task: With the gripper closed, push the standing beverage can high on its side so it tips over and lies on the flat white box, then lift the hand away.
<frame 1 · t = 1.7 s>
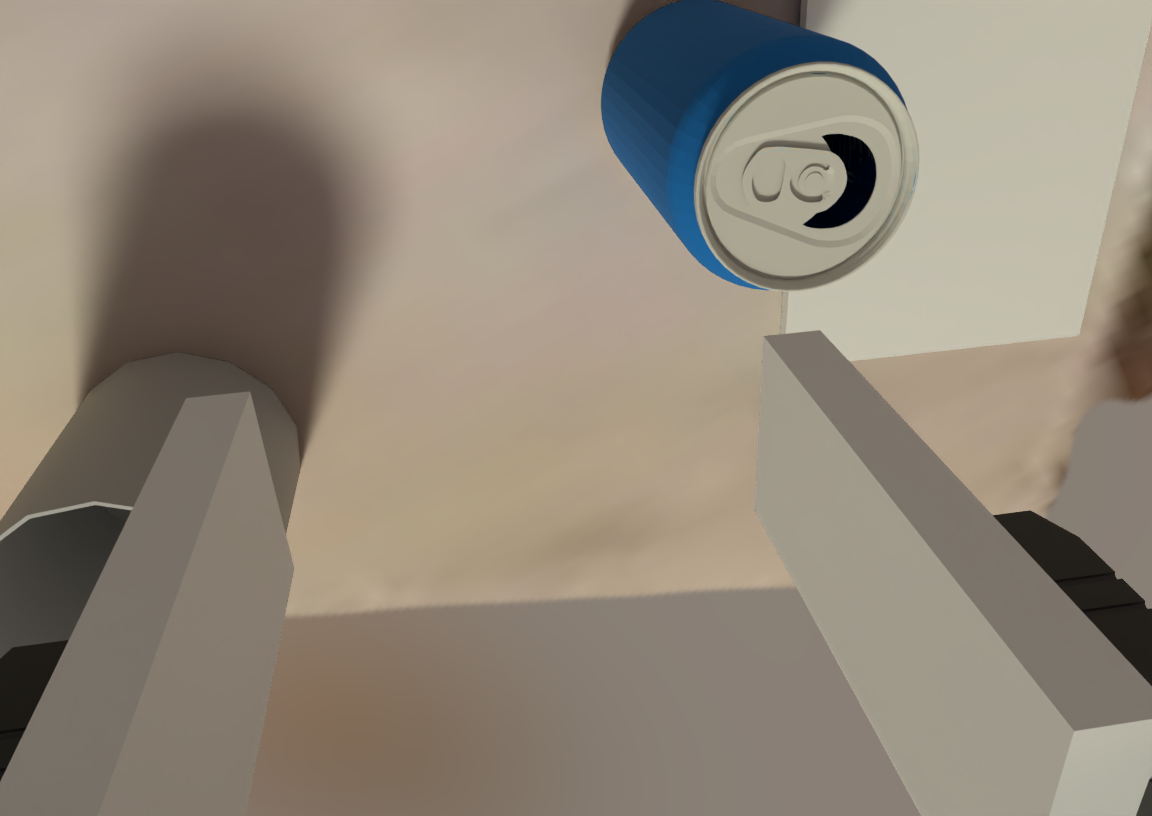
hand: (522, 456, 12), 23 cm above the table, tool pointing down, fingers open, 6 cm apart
beverage can: (685, 94, 33), on the table
cup: (192, 446, 37), on the table
flat white box: (966, 73, 34), on the table
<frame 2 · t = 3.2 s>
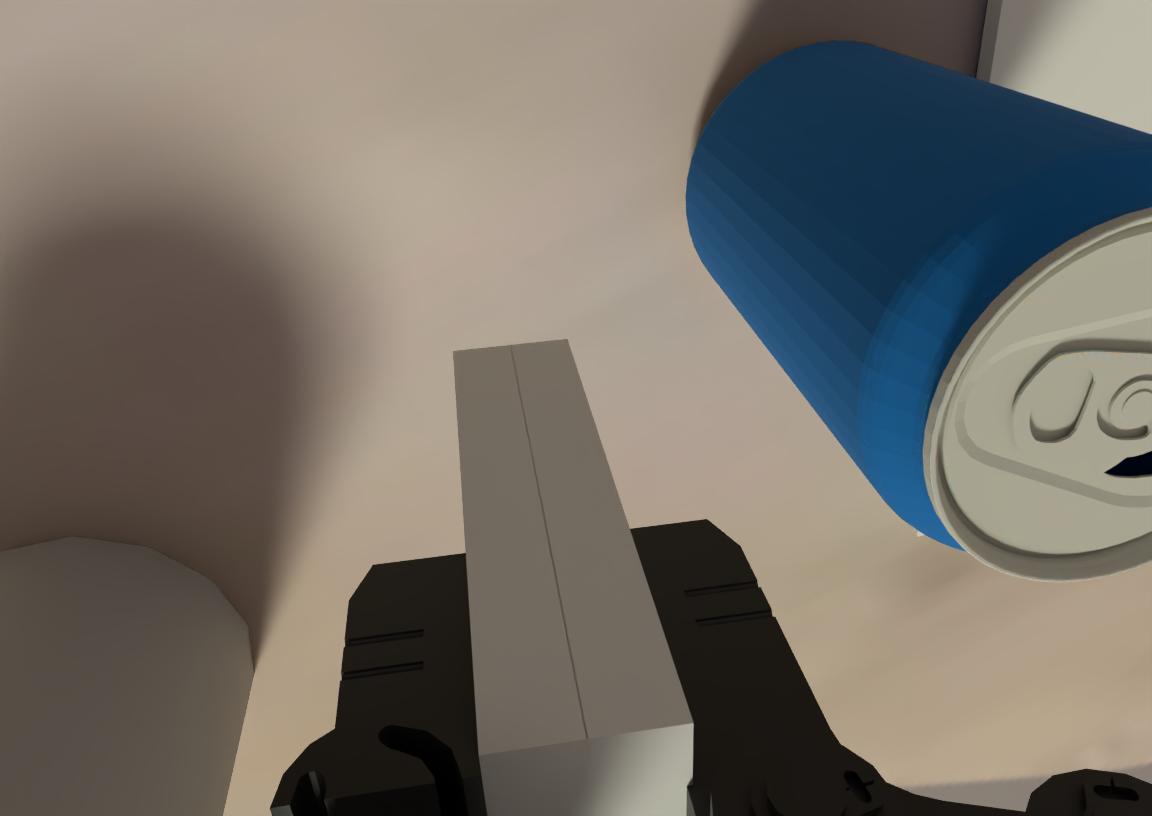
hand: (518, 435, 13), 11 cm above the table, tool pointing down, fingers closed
beverage can: (804, 175, 23), on the table
cup: (102, 651, 27), on the table
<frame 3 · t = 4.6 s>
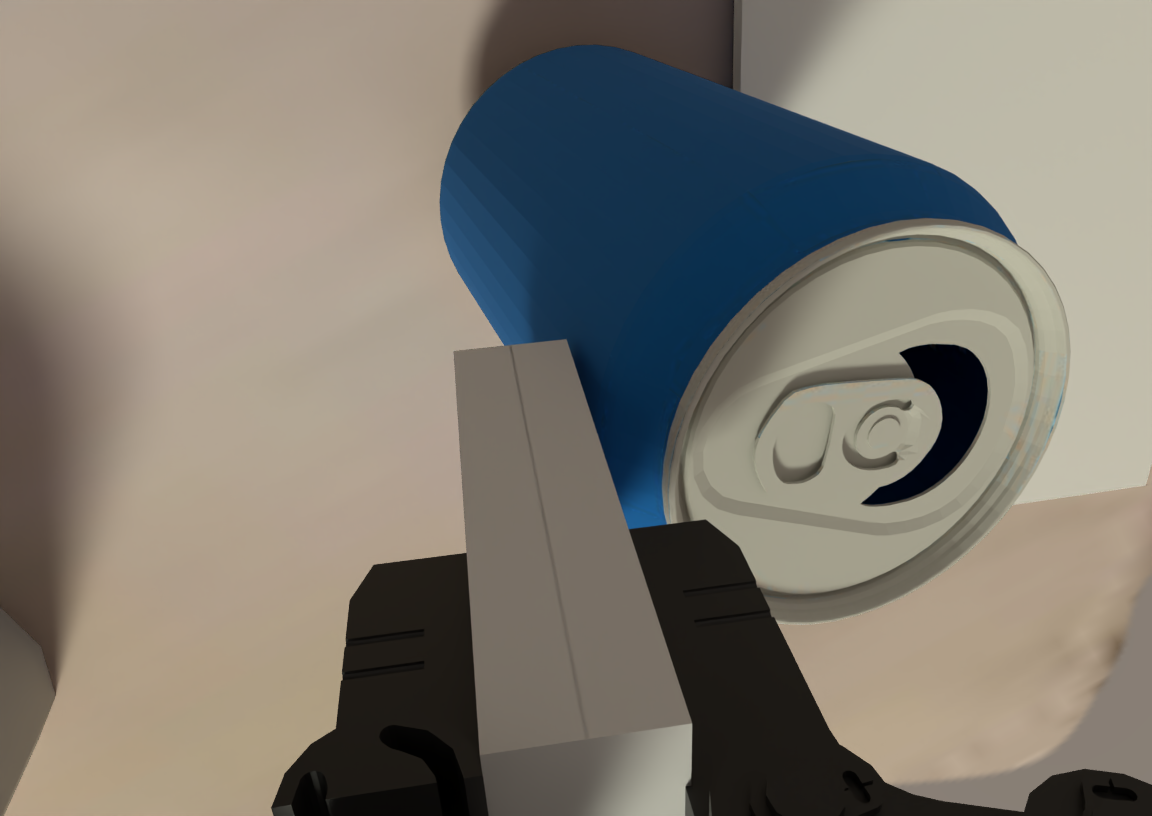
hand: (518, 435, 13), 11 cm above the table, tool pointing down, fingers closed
beverage can: (569, 187, 21), on the table
flat white box: (988, 138, 23), on the table
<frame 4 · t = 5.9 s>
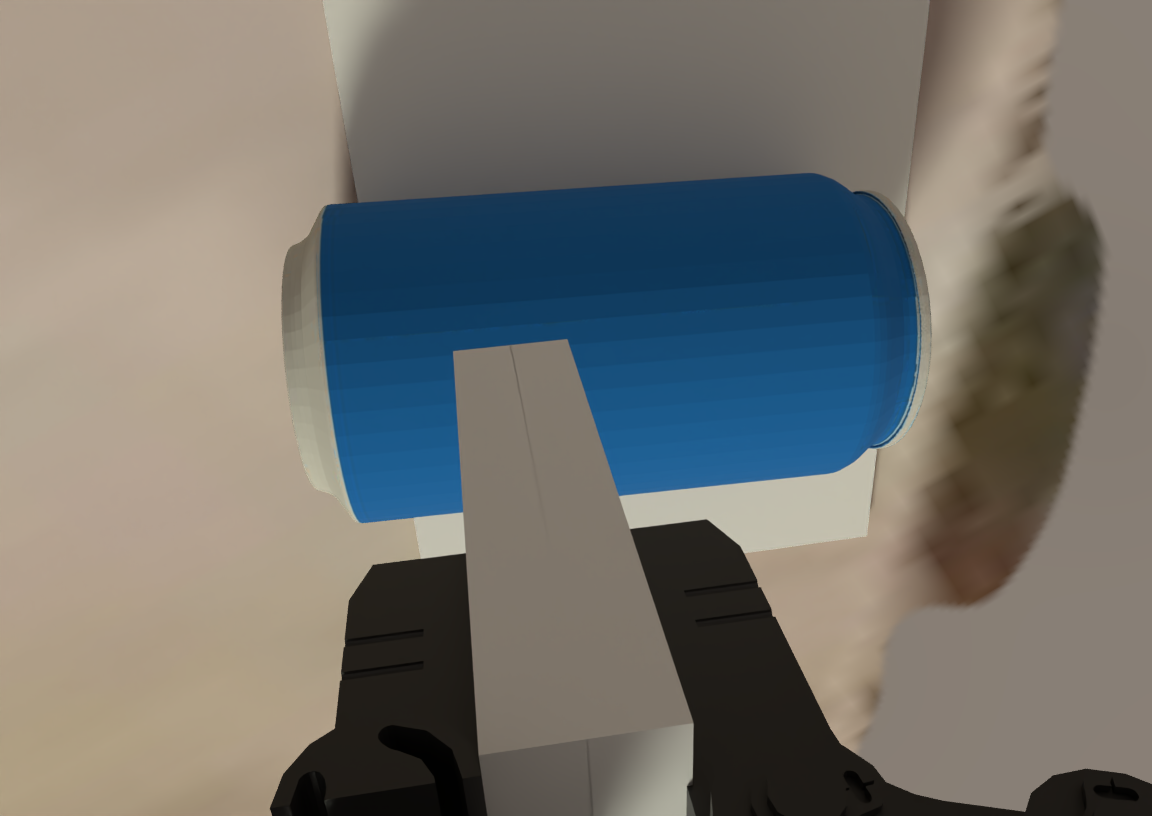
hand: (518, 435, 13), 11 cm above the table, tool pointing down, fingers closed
beverage can: (297, 369, 19), point 4 cm above the table, touching flat white box
flat white box: (638, 186, 22), on the table
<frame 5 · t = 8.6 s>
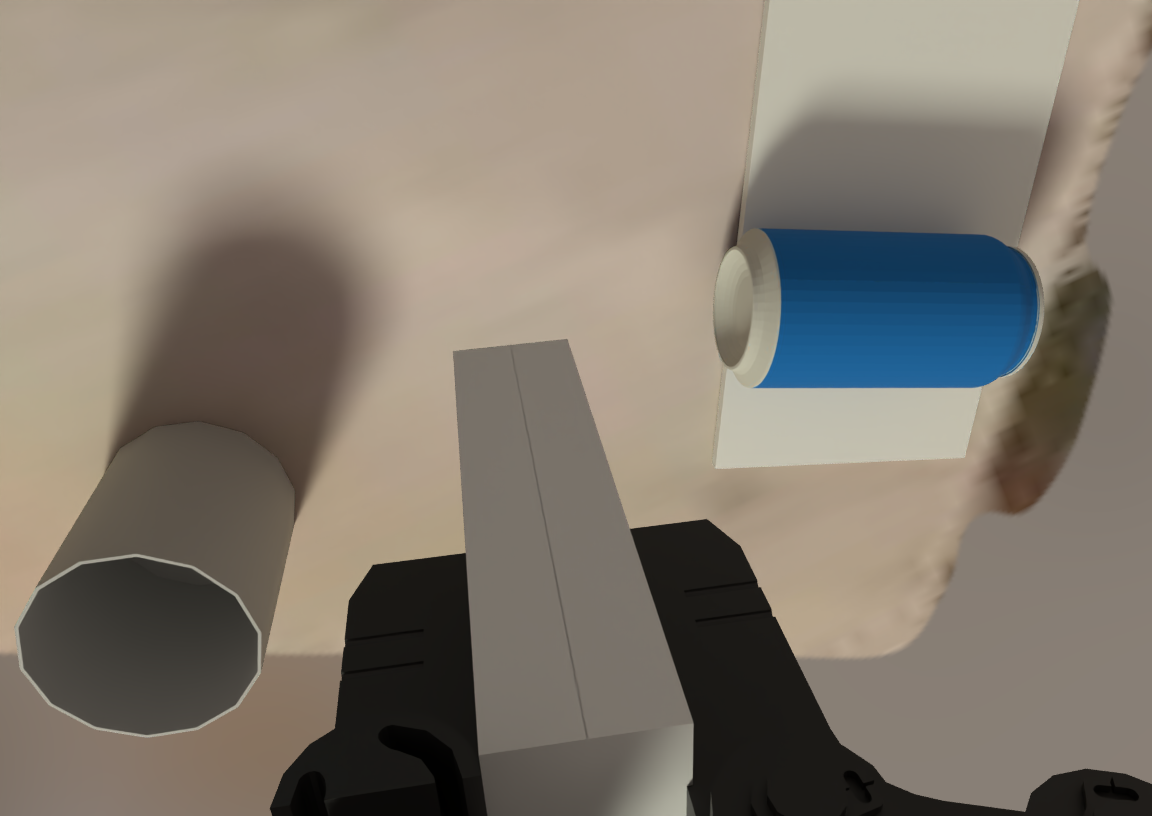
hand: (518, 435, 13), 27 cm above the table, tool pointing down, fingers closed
beverage can: (726, 308, 38), point 4 cm above the table, touching flat white box
cup: (201, 501, 42), on the table
flat white box: (876, 242, 41), on the table
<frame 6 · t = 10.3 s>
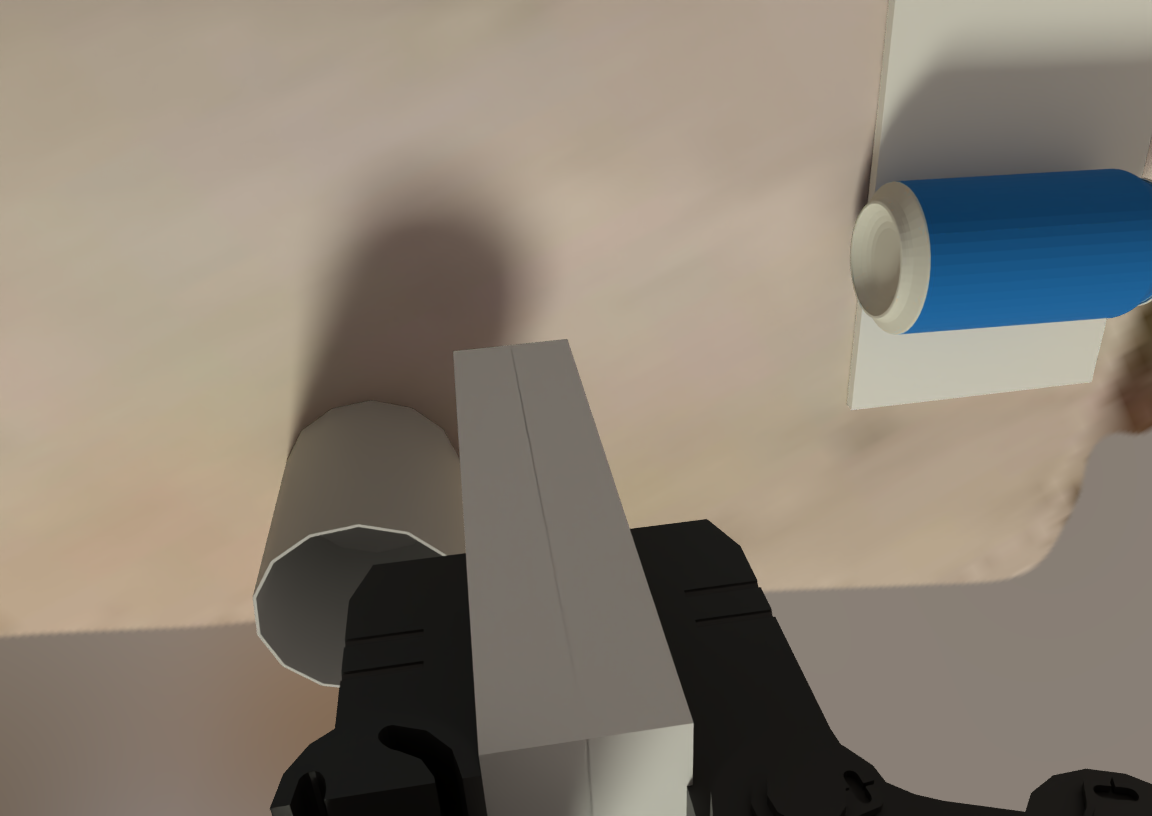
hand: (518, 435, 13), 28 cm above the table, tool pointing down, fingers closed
beverage can: (869, 260, 39), point 4 cm above the table, touching flat white box
cup: (375, 474, 46), on the table
flat white box: (1003, 179, 43), on the table
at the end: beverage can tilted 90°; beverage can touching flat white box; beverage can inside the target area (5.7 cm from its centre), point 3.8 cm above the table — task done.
